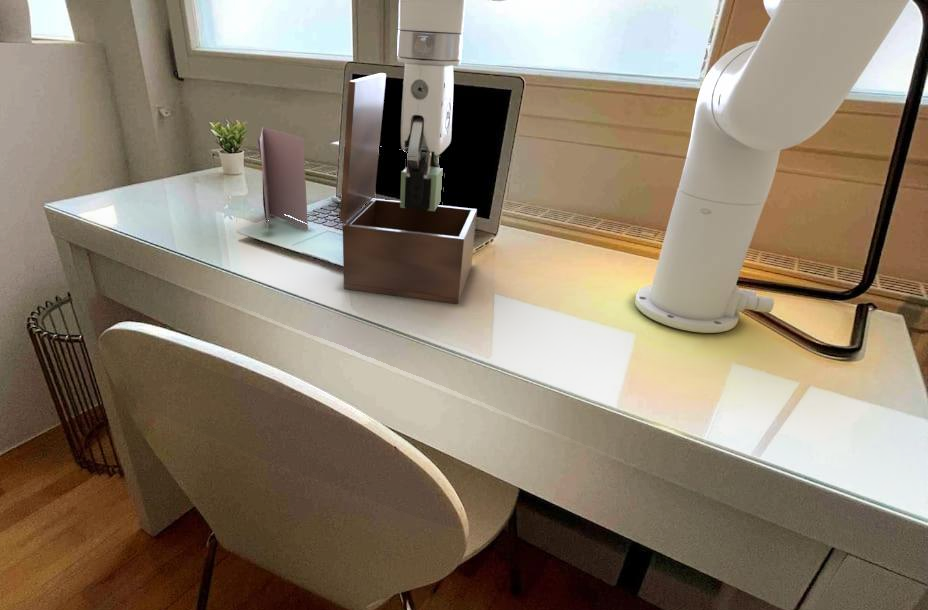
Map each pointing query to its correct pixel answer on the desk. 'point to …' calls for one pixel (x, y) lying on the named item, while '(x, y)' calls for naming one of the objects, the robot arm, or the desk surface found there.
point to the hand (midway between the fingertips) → (421, 202)
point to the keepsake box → (409, 250)
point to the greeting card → (283, 176)
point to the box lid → (361, 142)
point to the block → (436, 187)
